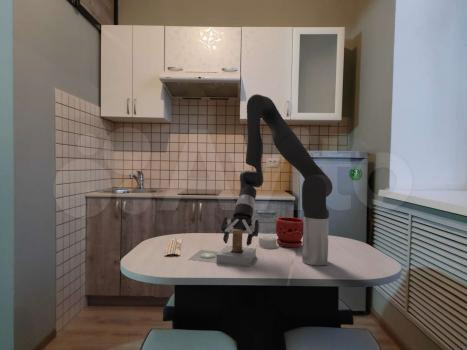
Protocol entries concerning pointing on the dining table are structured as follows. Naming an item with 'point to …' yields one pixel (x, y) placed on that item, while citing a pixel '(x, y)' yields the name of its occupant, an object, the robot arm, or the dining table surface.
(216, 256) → the socket board
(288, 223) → the plant pot
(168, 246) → the newspaper
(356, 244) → the dining table surface
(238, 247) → the walnut plug
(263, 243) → the mechanical component
